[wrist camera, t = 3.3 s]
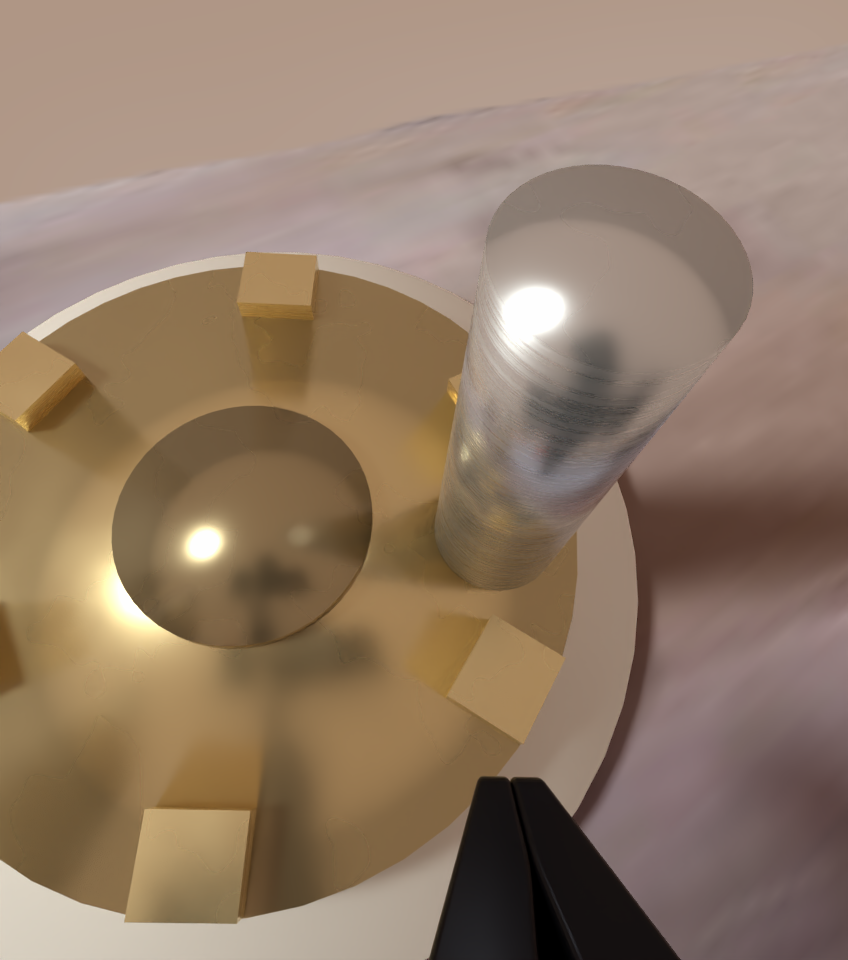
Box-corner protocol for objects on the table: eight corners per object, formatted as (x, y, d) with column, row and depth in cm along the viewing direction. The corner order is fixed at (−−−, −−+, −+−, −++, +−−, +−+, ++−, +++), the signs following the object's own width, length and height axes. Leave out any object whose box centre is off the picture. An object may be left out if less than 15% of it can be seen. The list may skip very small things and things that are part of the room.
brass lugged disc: (691, 666, 15) (1166, 521, 6) (20, 1095, 11) (-1632, 2597, 2) (389, 228, 21) (386, -207, 11) (-134, 421, 17) (-785, 5, 8)
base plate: (785, 703, 16) (806, 700, 15) (-39, 1272, 11) (-71, 1310, 10) (412, 193, 23) (413, 173, 22) (-197, 411, 18) (-224, 395, 17)
